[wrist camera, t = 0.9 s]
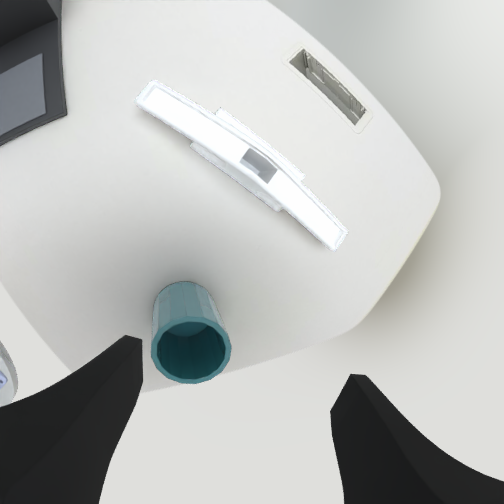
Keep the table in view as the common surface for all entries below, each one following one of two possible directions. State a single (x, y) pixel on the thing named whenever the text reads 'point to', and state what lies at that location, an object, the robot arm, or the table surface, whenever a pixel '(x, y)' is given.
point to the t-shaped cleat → (244, 159)
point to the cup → (188, 334)
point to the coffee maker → (30, 66)
